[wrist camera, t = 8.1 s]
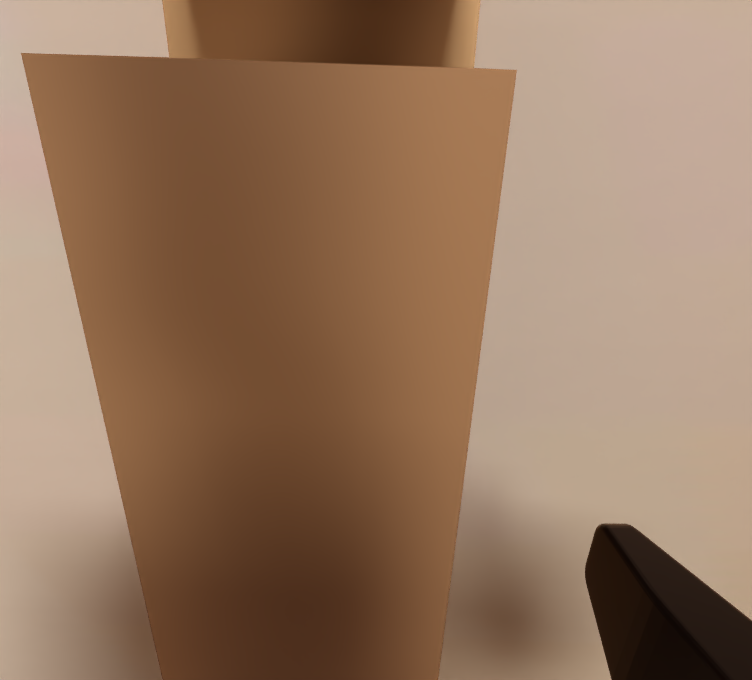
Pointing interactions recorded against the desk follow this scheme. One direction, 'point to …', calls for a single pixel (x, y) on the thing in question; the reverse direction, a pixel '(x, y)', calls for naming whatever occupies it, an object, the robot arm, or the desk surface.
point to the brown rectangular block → (282, 341)
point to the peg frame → (325, 31)
